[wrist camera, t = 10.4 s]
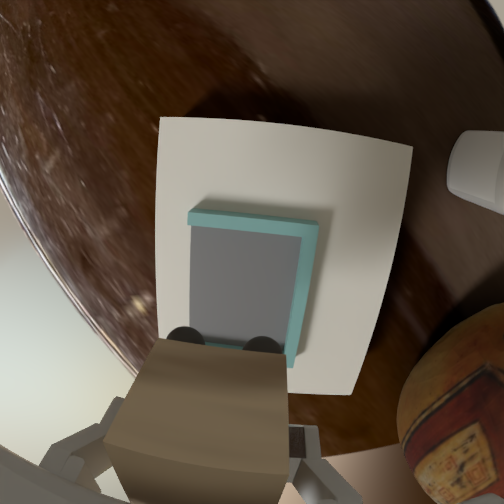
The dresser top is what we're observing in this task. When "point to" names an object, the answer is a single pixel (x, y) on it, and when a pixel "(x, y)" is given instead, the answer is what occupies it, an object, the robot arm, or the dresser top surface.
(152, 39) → the dresser top surface
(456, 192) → the eye dropper bottle
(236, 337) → the dock
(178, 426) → the beige wheeled cart
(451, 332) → the ceramic pitcher
